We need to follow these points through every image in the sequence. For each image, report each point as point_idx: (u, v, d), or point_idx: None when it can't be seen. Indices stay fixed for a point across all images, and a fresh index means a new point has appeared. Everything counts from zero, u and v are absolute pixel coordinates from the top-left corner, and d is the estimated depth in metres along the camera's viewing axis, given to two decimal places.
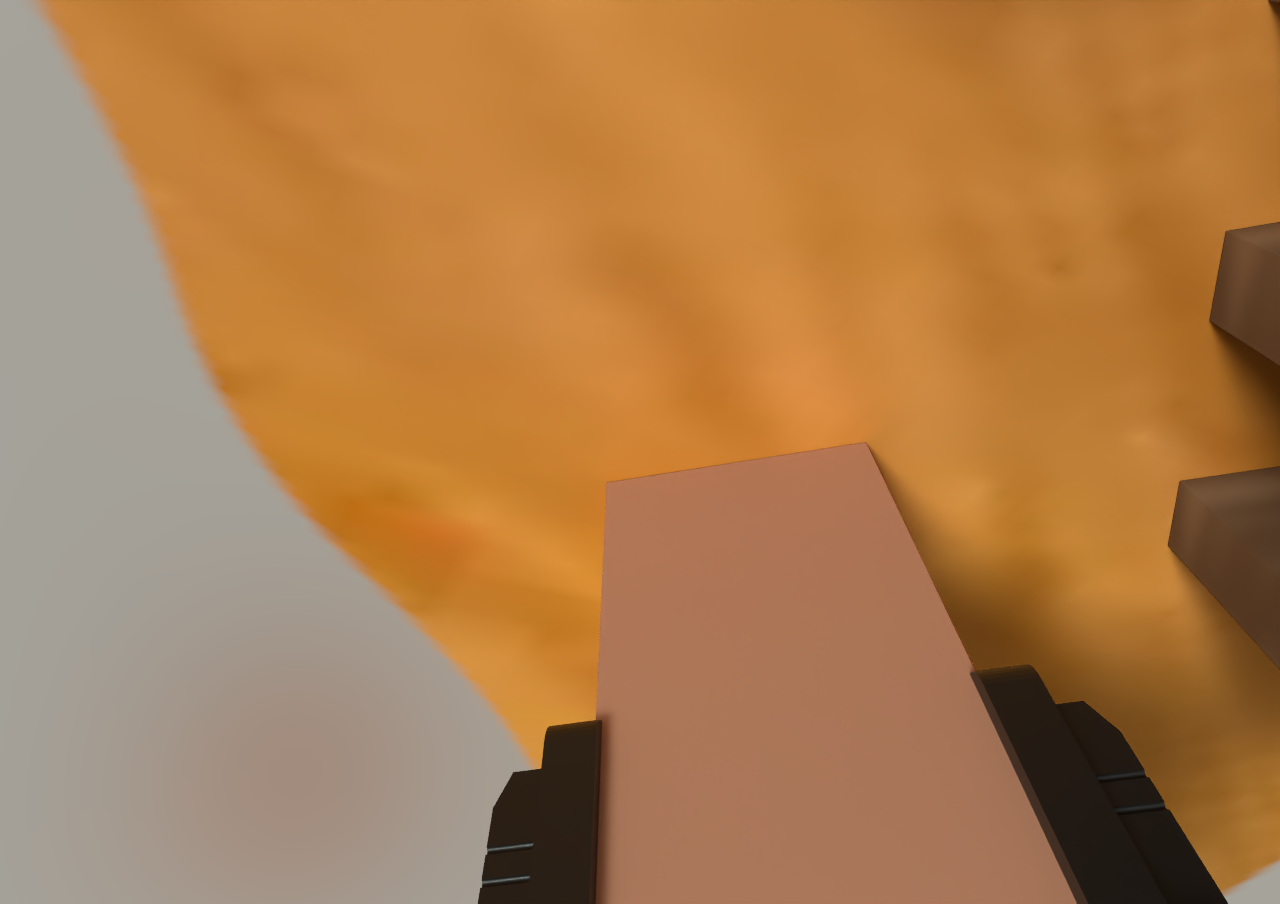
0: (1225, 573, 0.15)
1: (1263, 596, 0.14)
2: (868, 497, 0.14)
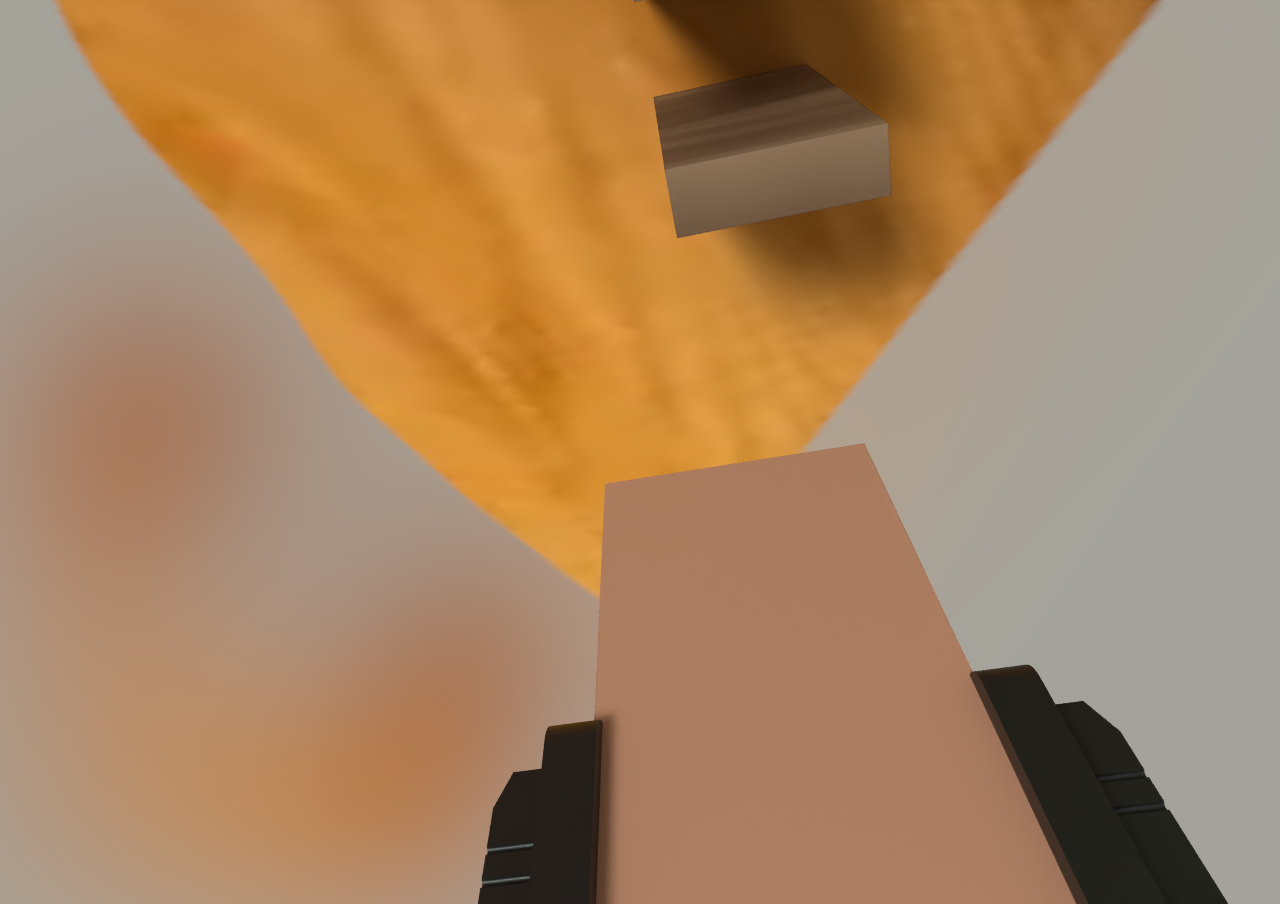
0: None
1: None
2: (866, 498, 0.14)
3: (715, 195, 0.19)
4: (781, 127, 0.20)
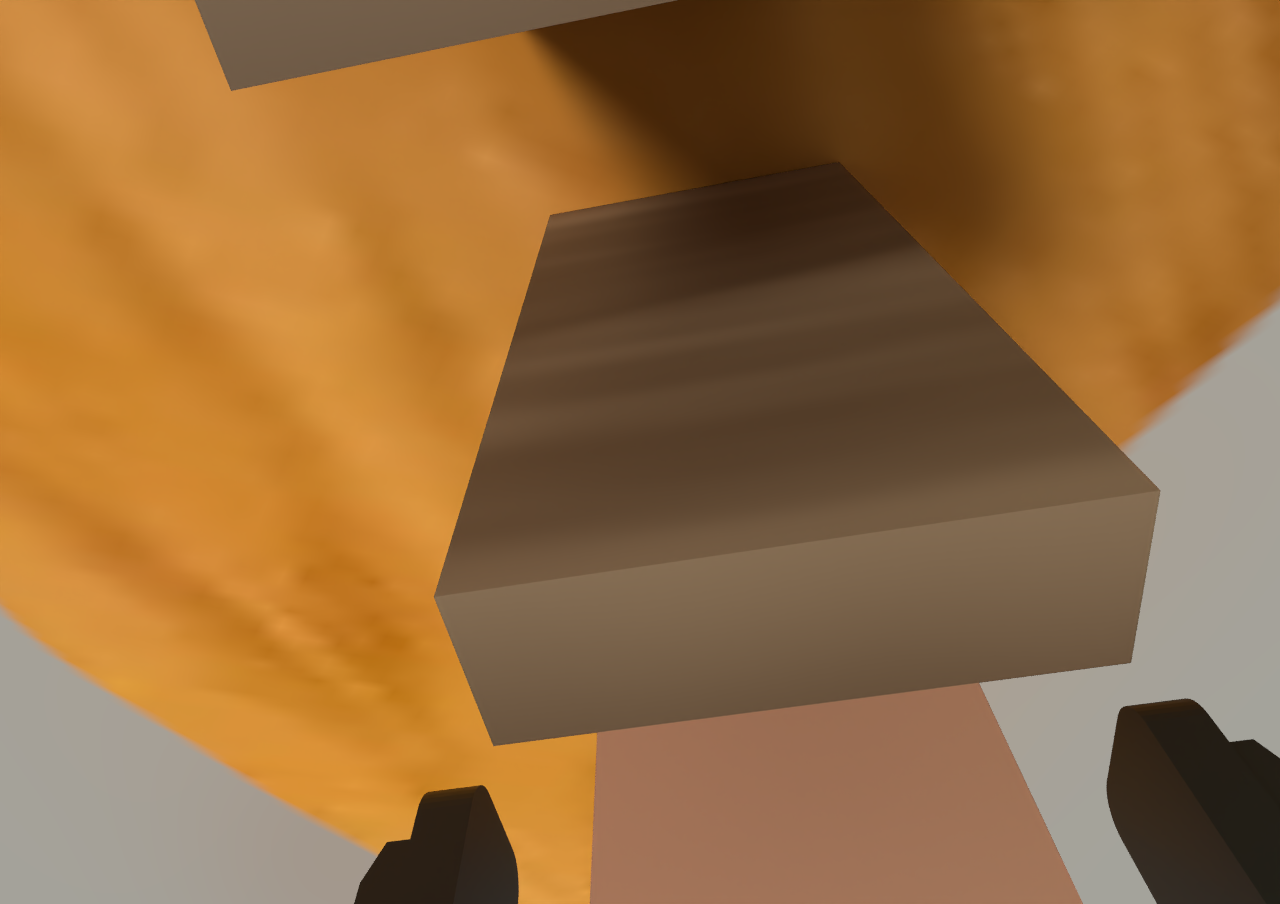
0: None
1: None
2: None
3: (600, 658, 0.06)
4: (800, 414, 0.07)
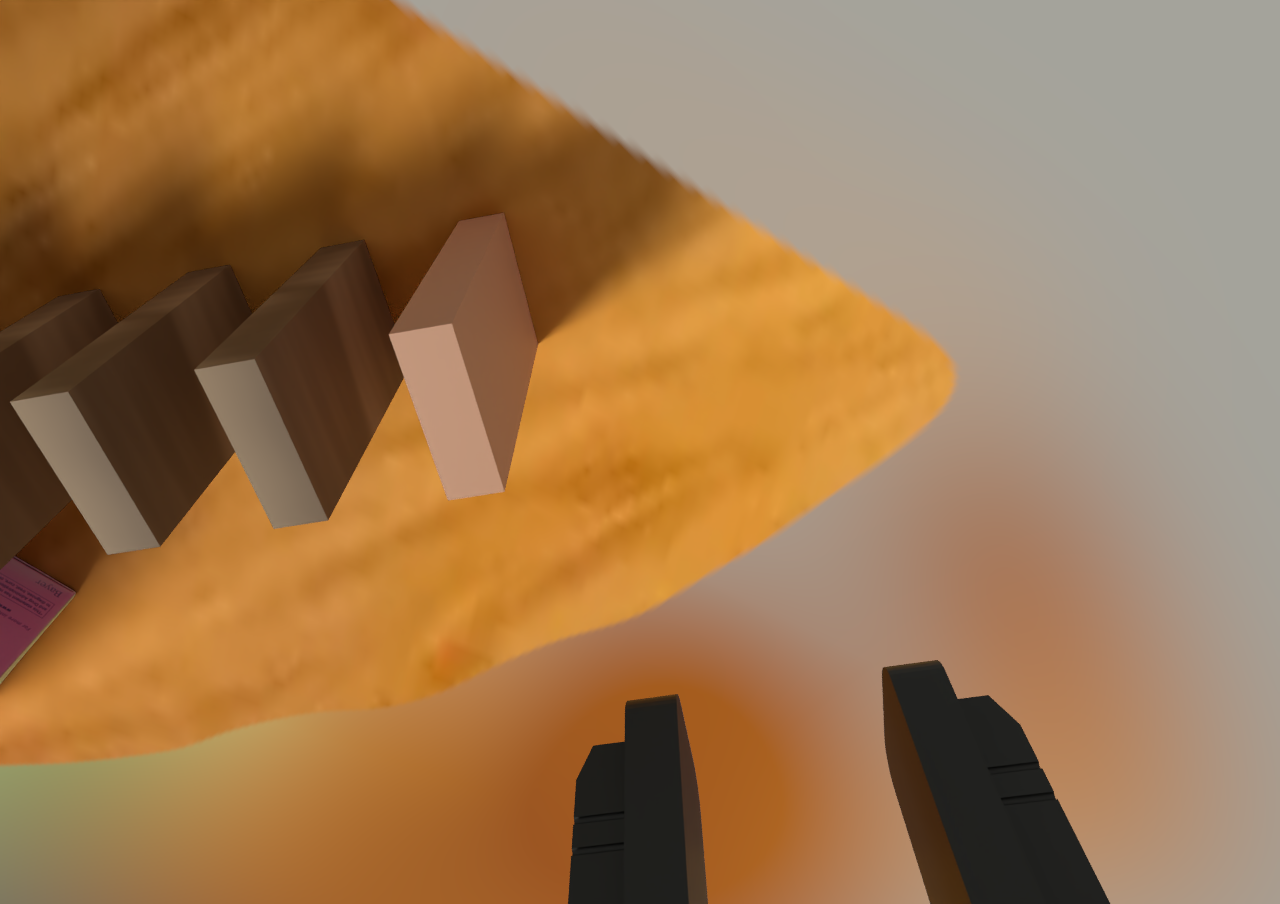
0: None
1: None
2: None
3: (286, 494, 0.23)
4: None
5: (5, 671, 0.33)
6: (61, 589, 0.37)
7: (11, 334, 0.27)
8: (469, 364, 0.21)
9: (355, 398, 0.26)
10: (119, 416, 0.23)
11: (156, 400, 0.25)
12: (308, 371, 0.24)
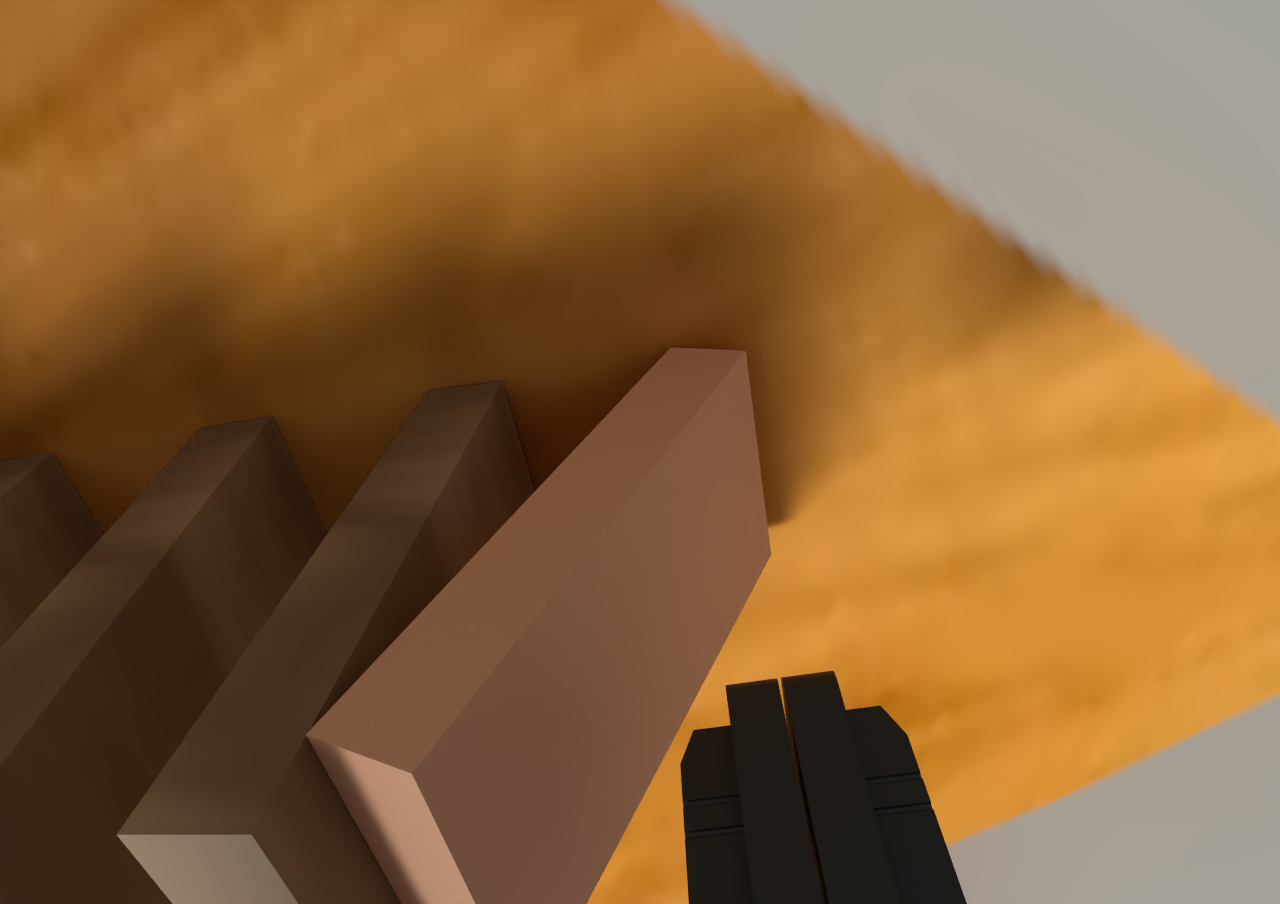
0: None
1: None
2: None
3: None
4: None
5: None
6: None
7: None
8: (470, 816, 0.10)
9: None
10: (58, 840, 0.11)
11: (142, 750, 0.12)
12: None
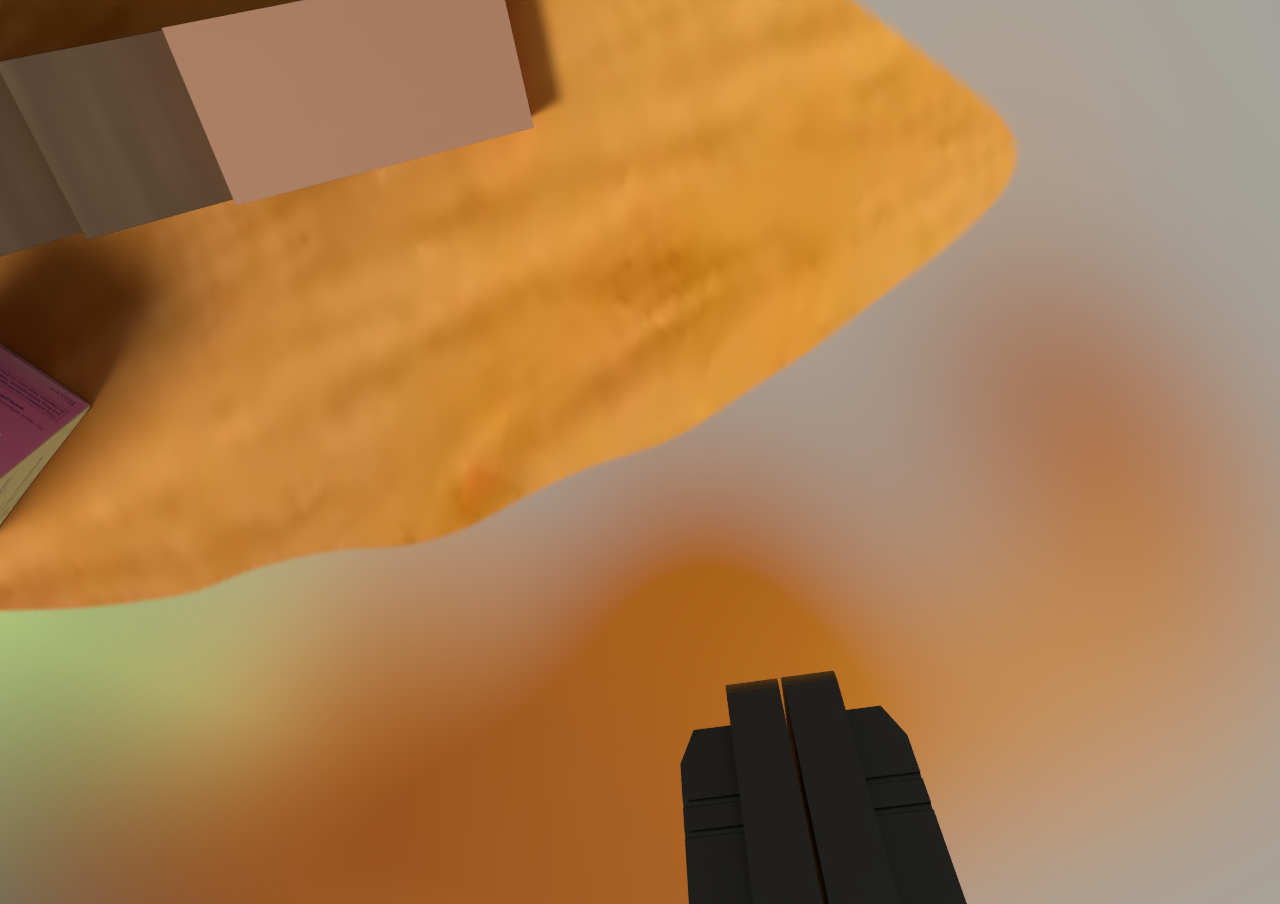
0: None
1: None
2: None
3: None
4: None
5: (18, 463, 0.32)
6: (75, 399, 0.35)
7: None
8: (198, 75, 0.24)
9: None
10: None
11: None
12: (113, 99, 0.25)
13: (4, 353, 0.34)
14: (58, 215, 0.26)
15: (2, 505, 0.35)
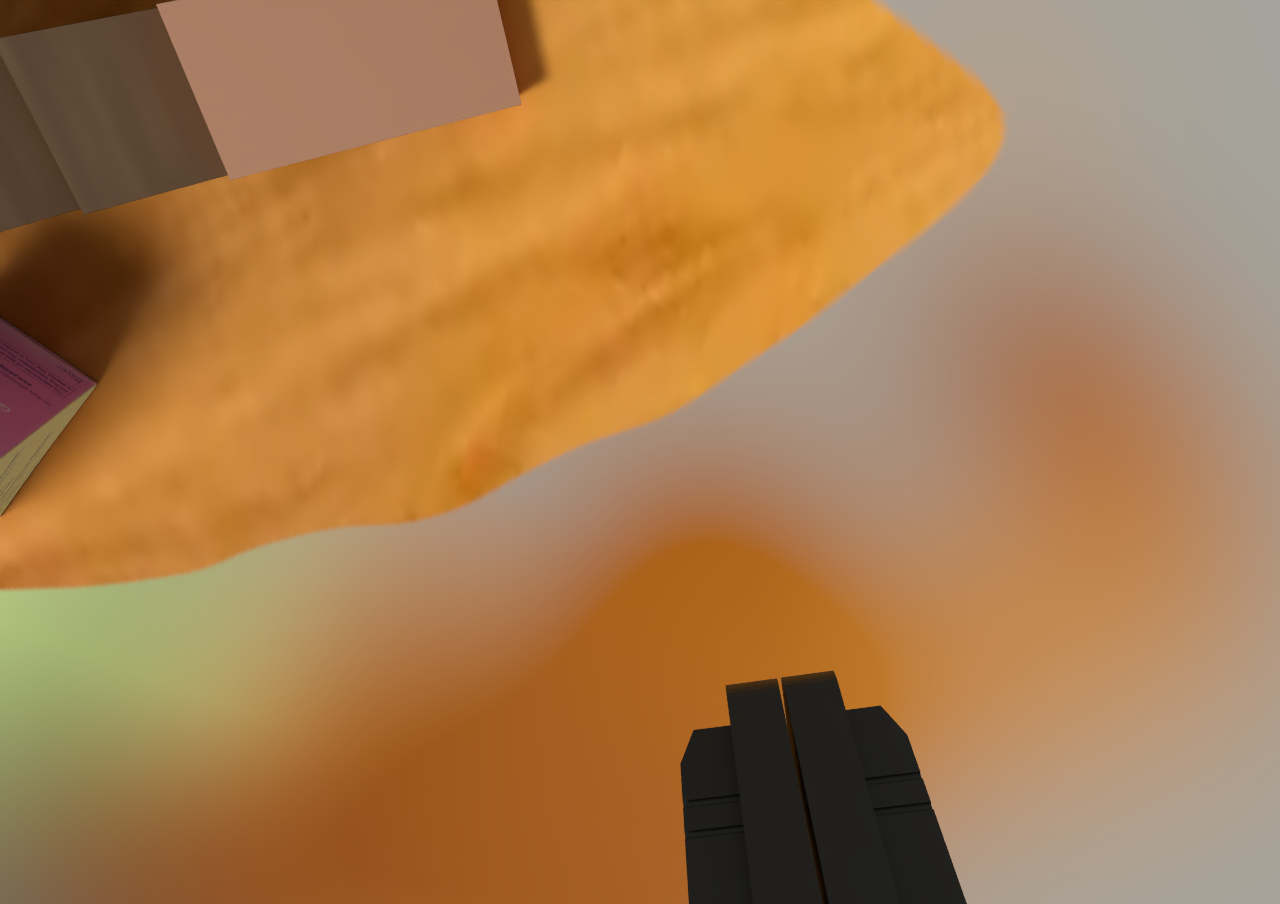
0: None
1: None
2: None
3: None
4: None
5: (27, 437, 0.32)
6: (82, 377, 0.36)
7: None
8: (192, 50, 0.25)
9: None
10: None
11: None
12: (108, 76, 0.25)
13: (13, 332, 0.35)
14: (58, 191, 0.27)
15: (11, 481, 0.36)
